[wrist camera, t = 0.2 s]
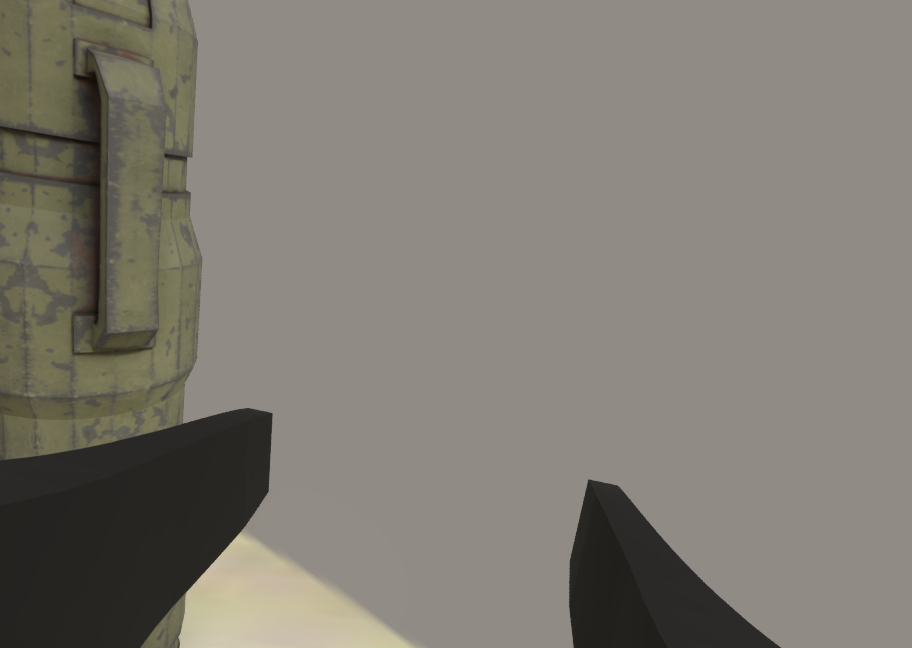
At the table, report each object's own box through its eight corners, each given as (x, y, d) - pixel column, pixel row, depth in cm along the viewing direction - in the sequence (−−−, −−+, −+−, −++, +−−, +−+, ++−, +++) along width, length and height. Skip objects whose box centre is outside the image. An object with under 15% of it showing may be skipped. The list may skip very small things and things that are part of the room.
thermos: (24, 837, 21) (-14, -203, 13) (-58, 658, 27) (-120, -117, 19) (228, 689, 28) (288, -36, 20) (126, 574, 34) (139, -14, 26)
